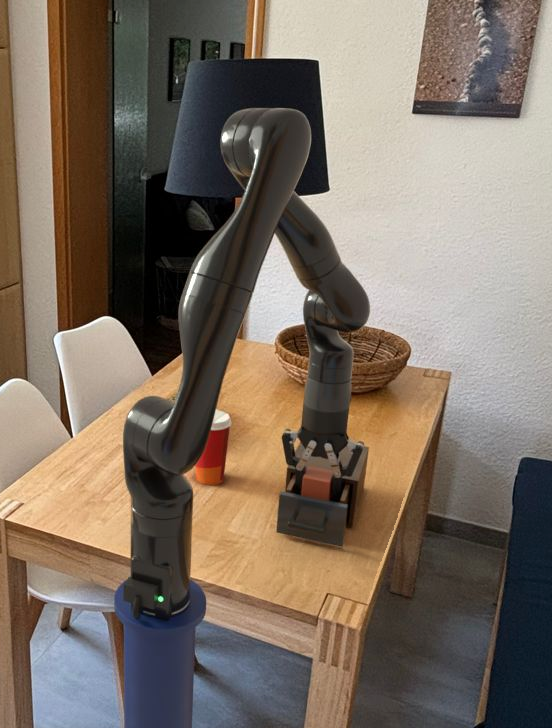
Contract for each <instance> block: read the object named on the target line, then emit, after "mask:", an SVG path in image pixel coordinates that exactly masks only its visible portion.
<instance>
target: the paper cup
mask: <svg viewBox="0 0 552 728" xmlns="http://www.w3.org/2000/svg"><path fill="white" fill-rule="evenodd" d="M232 423H233V422H232V420H231V417H230V414H229V413H226V412H225V411H223V410H220V409H216V411H215V415H214V420H213V424H212V428H211V432H210V435H209V439H208V442H207V445H206V447H205V450H204V452H203V454H202V456H201V458H200V460H199V461H198V463H197V464H196V465H195V466H194V469H195V479H196V481H197V482H198V483H200V484H202V485H205V486H216V485H219V484H221V483H222V482H223V481H224V478H225V470H226V464H227V463H226V462H227V455H228V454H227V453H228V445H229V438H230V437H229V436H230V428H231V426H232Z"/></svg>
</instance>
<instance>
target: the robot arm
mask: <svg viewBox="0 0 552 728" xmlns="http://www.w3.org/2000/svg"><path fill="white" fill-rule="evenodd" d="M219 144H220V146H219V147H220V153H221V156H222V158H223V161H224V163H225V165H226V166H227V168H228V171H230V173H231V175H233V177H234V178H235V180H236V181H237V182H238V183H239V185H240V187H241V188H242V189H243V190H244V192H243V195H242V197H241V198H240V201H239V203H238V205H237V206H236V208H235V210H234V211H233V213H232V214H231V215H230V217H229V218H228V219H227V221H226V222H225V223H224V224H223V225H222V226H221V227H220V228H219V229H218V230H217V232H215V234H213V236H212V237H211V238H210V239H209V240H208V241H207V243H206V244H205V245H204V246H203V248H202V249H201V250H200V251H199V253H197V256H196V257H195V258H194V261H193V263H192V265H191V268H190V270H189V273H188V275H187V279H186V281H185V285H184V288H183V290H182V294H181V296H180V300H179V305H178V328H179V329H178V330H179V337H180V344H181V354H182V371H181V378H180V383H179V386H178V389H177V392H176V393H177V396H176V399H175V402H174V403H173V402H171V401H169V400H167V399H168V398H164V397H162V396H158V395H147V396H144V397H142V398H140V399H139V400H137V401H136V402H135V403H134V404H133V405H132V407H130V409H129V411H128V414H127V415H126V418H125V421H124V426H123V431H122V455H123V470H124V482H125V486H126V489H127V491H128V493H129V497H130V576H128V578H127V579H125V580H126V582H125V583H124V584H123V599H124V601H125V602H129V603H131V611H132V613H133V616H134V618H135V619H136V620H139V619H140V617H141V616H140V614H143V615H146V616H150V617H154V618H157V619H161V620H164V621H169V620H170V618H171V617H173V616H176V615H179V614H181V613H182V612H184V611H185V610H186V609H187V608H188V606H189V604H190V598H191V595H190V579H191V577H192V576H191V573H192V570H191V569H192V545H193V544H192V542H193V541H192V540H193V518H194V517H193V516H194V515H193V513H194V489H193V486H192V484H191V482H190V480H188V478H187V477H186V475H185V474H188V472H191V471H192V469H194V468H195V465H196V464H197V463H198V461H199V460H200V458H201V456H202V454H203V452H204V450H205V447H206V445H207V442H208V439H209V435H210V432H211V428H212V424H213V420H214V415H215V411H216V410H217V407H218V404H219V399H220V395H221V391H222V387H223V384H224V379H225V375H226V373H227V370H228V367H229V363H230V360H231V357H232V354H233V351H234V348H235V344H236V342H237V339H238V337H239V333H240V331H241V329H242V325H243V323H244V320H245V318H246V316H247V313H248V310H249V308H250V305H251V301H252V298H253V295H254V293H255V290H256V286H257V284H258V279H259V277H260V274H261V271H262V267H263V265H264V263H265V260H266V258H267V254H268V253H269V249H270V248H271V247H270V246H271V244H272V241H273V239H274V236H276V239H277V240H278V242H279V244H280V245H281V247H282V249H283V251H284V253H285V255H286V257H287V260H288V262H289V264H290V266H291V268H292V270H293V272H294V274H295V276H296V278H297V280H298V282H299V283H300V284H301V286H302V287H303V288H305V289H306V290H307V292H306V295H305V296H304V299H303V305H302V317H303V324H304V329H305V336H306V341H307V345H308V350H309V355H308V364H307V374H306V379H305V380H306V381H305V384H304V392H303V403H302V412H301V424H300V428H299V429H298V430H291V429H289V428H286V429H285V430H284V432H283V433H282V435H281V441H282V447H283V453H284V458H285V459H284V460H285V463H286V465H287V466H288V465H289V466H291V465H292V466H294V467H295V468H296V479H295V483H296V485H298V489H302V483H303V477H304V474H305V472H306V466H305V464H306V462H307V461H308V459H309V457H310V455H311V456H313V457H322V458H324V459H329V462H330V466H331V467H332V470H333V473H334V474H333V477H332V484H331V493H330V495H332V496H335V493H338V492H339V491H340V488H341V480H342V477H343V476H348V477H351V476H352V474H353V472H354V469H355V467H356V465H357V462H358V460H359V458H360V455H361V453H362V450H363V447H364V446H365V443H364V442H363V441H361V440H359V441H355V440H352V439H350V437H349V435H348V423H349V414H350V407H351V401H352V374H353V366H354V348H353V346H352V345H351V344H350V343H348V342H347V341H345V340H344V339H343V338H342V336H341V335H340V334H339V332H340V333H342V334H343V333H345V334H352V333H355V332H358V331H360V330H362V328H364V326H365V325H366V324H367V323H368V321H369V318H370V315H371V314H370V313H371V303H370V299H369V296H368V293H367V292H366V290H365V288H364V287H363V285H362V284H361V283H360V281H359V280H358V279H357V277H356V276H355V275H354V273H352V271H351V270H350V269H349V268H348V267H347V266H346V264H344V262H343V261H342V258H341V256H340V253H339V250H338V248H337V247H336V243H335V241H334V240H333V237H332V234H331V233H330V230H329V229H328V228H327V226H326V225H325V223H324V221H322V220H321V219H320V217H319V216H318V214H316V212H314V210H313V209H312V208H311V207H310V206H309V205H308V204H307V203H306V202H305V201H304V200H303V199H302V198H301V197H300V196H299V195H298V193H296V191H295V189H296V187H297V184H298V182H299V180H300V178H301V176H302V173H303V171H304V168H305V166H306V163H307V161H308V158H309V154H310V151H311V144H312V129H311V125H310V123H309V119H308V118H307V116H306V115H305V114H304V113H303V112H302V111H300V110H297V109H294V108H286V107H285V108H284V107H273V108H272V107H251V108H250V107H248V108H244V109H240V110H238V111H235V112H234V113H233V114H231V115H230V116H229V117H228V118H227V120H226V122H225V123H224V124H223V127H222V130H221V133H220V140H219ZM297 439H298V440H299V443H300V442H301V443H302V445H303V446H304V448H305V450H304V452H303V454H302V456H301V458H298V457H296V455H295V451H296V449H295V443H296V441H297ZM346 446H347V447H348V448H349V453H350V454H351V455H352V456H351V459H350V461H349V464H348V466H343V465H342V462H341V456H340V451H341V450H342V449H344V448H345V447H346Z"/></svg>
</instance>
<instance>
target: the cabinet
mask: <svg viewBox="0 0 552 728" xmlns="http://www.w3.org/2000/svg"><path fill="white" fill-rule="evenodd" d="M304 450H305V448H304V446H303V445H302V443H301V442H300V441H299V443H298V444H297V447H296V449H295V455H296V457H298V458H301V456H302V454H303V452H304ZM369 450H370V447H369V446H365V445H364V447H363V450H362V453H361V455H360V458H359V460H358V462H357V465H356V467H355V469H354V472H353V474H352V476H351V477H348V476H343V477H342V480H341V482H345V483H350V484H353V486H352V495H351V503H350V509H349V512H348V515H347V518H346V524H345V527H348V528H354V525H355V524H354V523H355V521H356V517H357V514H358V510H359V507H360V504H361V501H362V496H363V493H364V489H365V483H366V475H367V467H368V466H367V465H368V458H369ZM340 456H341V462H342V465H343V466H348V464H349V461H350V459H351V456H352V455H351V454H350V453H349V448H348V447H347V446H346V447H345V448H344V449H342V450H341V451H340ZM305 466H306V470H307V468H308V466H310V467H316V468H321V469H326V470H332V467H331V466H330V462H329V459H324V458H322V457H313V456H311V455H310V457H309V459H308V461H307V462H306V464H305ZM332 471H333V470H332ZM294 473H296V468H295V467H294V466H292V465H291V466H289V465H287V466H286V475H285V488H284V492H286V489H287V487H288V485H289V483H290V481H291V479H292V477H293V475H294Z"/></svg>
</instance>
